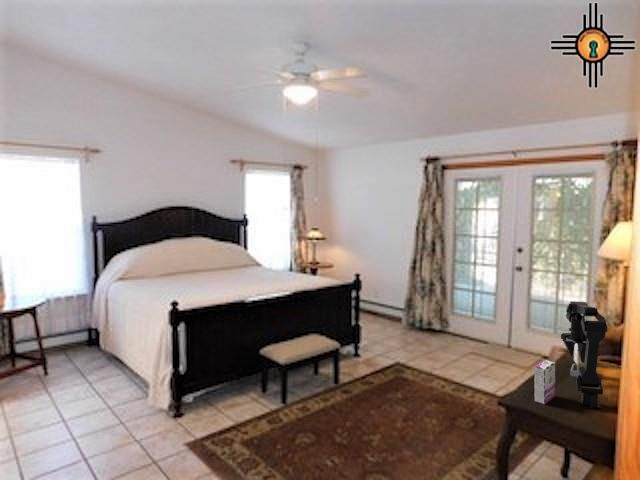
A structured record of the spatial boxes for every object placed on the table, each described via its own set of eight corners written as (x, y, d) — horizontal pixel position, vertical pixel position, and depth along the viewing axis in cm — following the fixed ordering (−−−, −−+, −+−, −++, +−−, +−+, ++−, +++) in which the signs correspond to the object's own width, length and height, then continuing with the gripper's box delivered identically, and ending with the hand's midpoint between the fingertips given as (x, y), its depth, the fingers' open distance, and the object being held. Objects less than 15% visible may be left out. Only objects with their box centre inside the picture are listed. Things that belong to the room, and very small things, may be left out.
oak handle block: (589, 376, 214) (590, 351, 213) (577, 374, 217) (578, 350, 215) (588, 372, 219) (589, 348, 218) (577, 371, 221) (577, 346, 220)
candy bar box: (544, 393, 200) (544, 359, 198) (555, 396, 196) (556, 362, 194) (533, 401, 193) (533, 366, 191) (544, 405, 189) (545, 369, 187)
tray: (594, 380, 211) (594, 375, 210) (570, 376, 217) (570, 370, 217) (596, 373, 219) (596, 367, 219) (572, 369, 225) (572, 363, 225)
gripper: (607, 333, 195) (606, 366, 196) (583, 321, 213) (582, 351, 215) (583, 333, 195) (582, 366, 196) (560, 322, 213) (559, 352, 215)
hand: (577, 359), depth 206 cm, fingers open, 9 cm apart
